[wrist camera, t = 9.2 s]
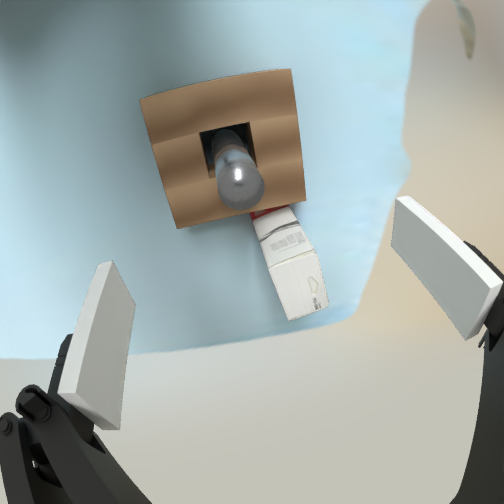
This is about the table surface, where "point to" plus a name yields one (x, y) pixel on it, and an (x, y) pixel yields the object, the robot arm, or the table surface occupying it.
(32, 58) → the table surface
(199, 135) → the socket block
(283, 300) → the ink box
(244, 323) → the table surface
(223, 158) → the peg
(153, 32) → the table surface
